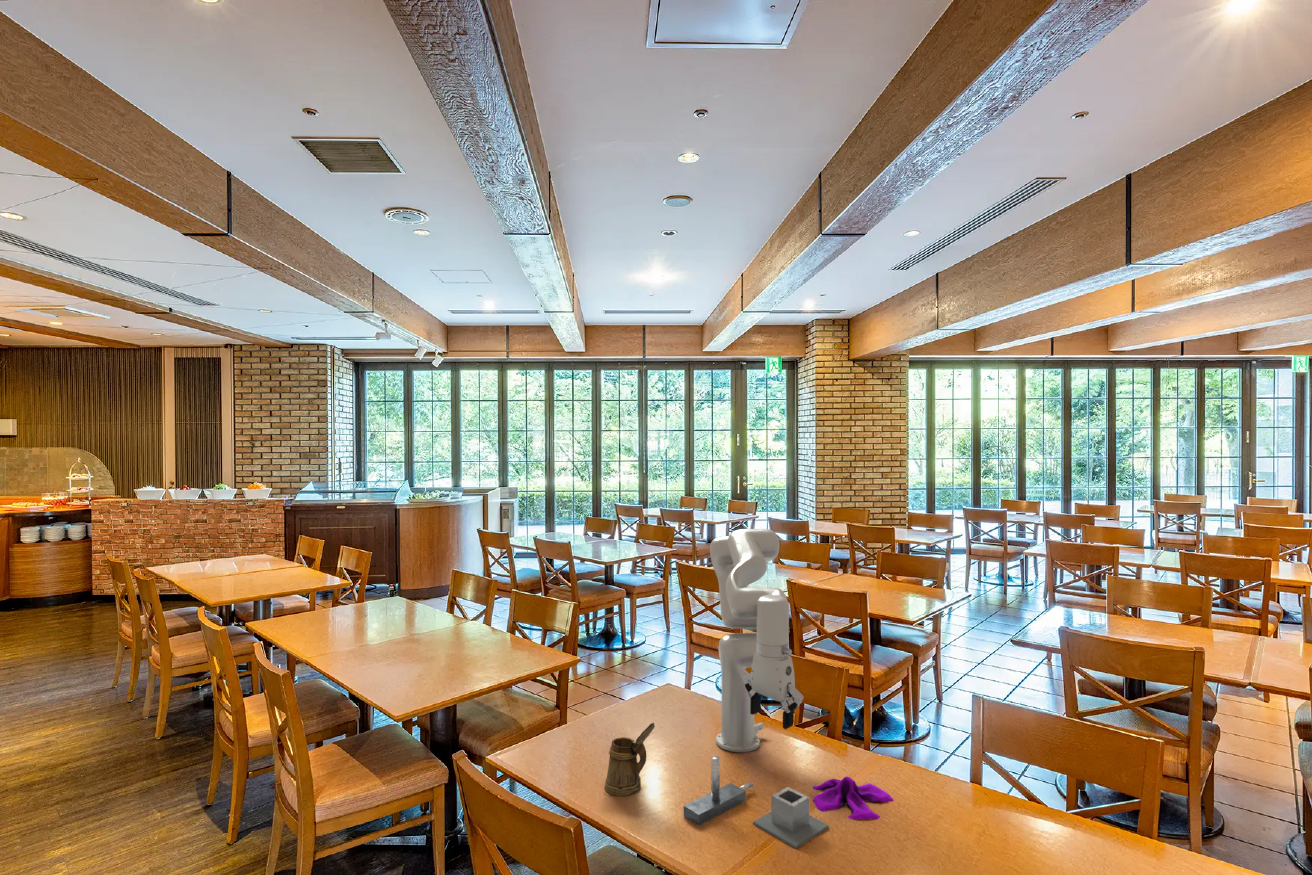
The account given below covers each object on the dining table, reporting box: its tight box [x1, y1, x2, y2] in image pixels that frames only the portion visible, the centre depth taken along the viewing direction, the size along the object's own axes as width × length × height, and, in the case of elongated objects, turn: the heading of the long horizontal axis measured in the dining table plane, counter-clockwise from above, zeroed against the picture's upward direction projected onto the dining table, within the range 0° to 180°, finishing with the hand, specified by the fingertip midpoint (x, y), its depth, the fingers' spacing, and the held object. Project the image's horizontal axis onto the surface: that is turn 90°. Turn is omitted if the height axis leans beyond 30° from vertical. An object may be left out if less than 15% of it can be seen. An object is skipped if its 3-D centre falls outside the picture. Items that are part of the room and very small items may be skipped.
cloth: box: [812, 775, 895, 821], centre depth 159 cm, size 22×19×6 cm
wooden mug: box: [604, 722, 656, 797], centre depth 163 cm, size 9×14×18 cm, turn 59°
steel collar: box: [770, 786, 810, 834], centre depth 147 cm, size 6×6×6 cm
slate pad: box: [752, 811, 830, 850], centre depth 147 cm, size 12×12×1 cm
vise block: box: [683, 755, 754, 827], centre depth 156 cm, size 21×5×12 cm, turn 131°
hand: (771, 719), depth 154 cm, fingers open, 9 cm apart
